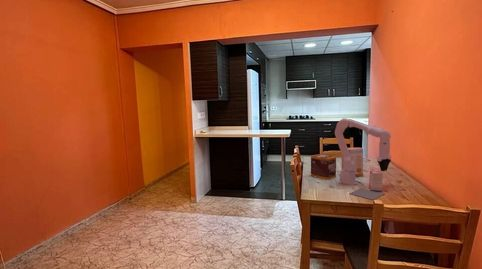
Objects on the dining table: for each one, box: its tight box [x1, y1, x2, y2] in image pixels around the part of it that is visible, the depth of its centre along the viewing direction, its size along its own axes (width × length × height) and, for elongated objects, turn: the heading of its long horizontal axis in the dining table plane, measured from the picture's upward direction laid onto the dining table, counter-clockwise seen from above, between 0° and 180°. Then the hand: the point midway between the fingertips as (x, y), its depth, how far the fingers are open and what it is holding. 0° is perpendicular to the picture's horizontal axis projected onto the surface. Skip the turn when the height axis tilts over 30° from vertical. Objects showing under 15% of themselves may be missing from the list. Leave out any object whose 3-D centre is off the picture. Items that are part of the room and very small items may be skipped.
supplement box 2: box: [368, 170, 384, 192], centre depth 155 cm, size 6×6×12 cm
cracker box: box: [341, 147, 364, 177], centre depth 189 cm, size 14×6×21 cm, turn 84°
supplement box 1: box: [310, 153, 337, 181], centre depth 189 cm, size 10×15×16 cm
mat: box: [349, 188, 386, 201], centre depth 149 cm, size 14×14×1 cm
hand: (383, 170), depth 161 cm, fingers open, 2 cm apart
